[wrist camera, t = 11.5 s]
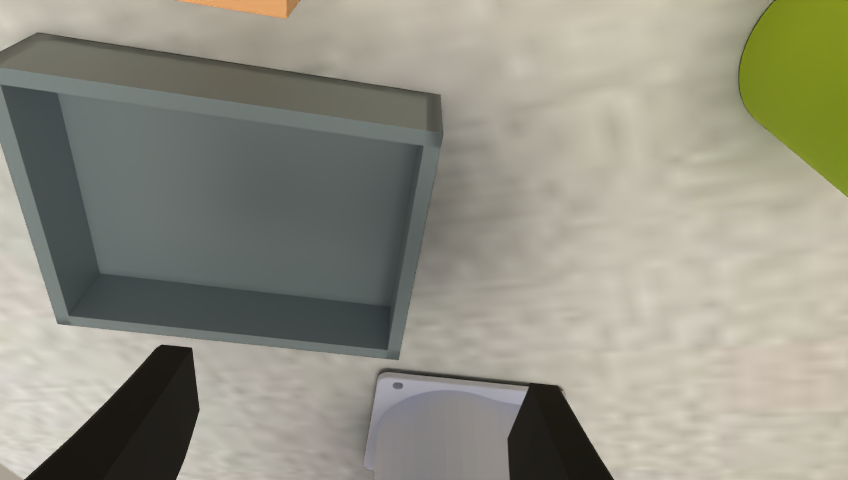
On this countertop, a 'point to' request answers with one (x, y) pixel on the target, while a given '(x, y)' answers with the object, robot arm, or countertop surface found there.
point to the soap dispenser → (802, 81)
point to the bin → (218, 195)
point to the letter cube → (253, 6)
